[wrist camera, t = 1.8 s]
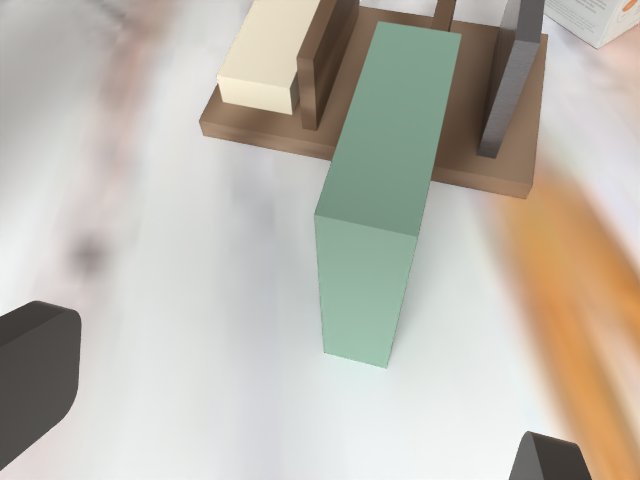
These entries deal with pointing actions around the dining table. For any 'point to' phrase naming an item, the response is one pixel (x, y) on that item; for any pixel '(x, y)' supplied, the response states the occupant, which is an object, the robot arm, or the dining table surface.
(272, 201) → the dining table surface
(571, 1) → the small box
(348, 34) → the book rack
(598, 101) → the dining table surface
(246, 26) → the toppled book
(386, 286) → the book
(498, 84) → the bookend
